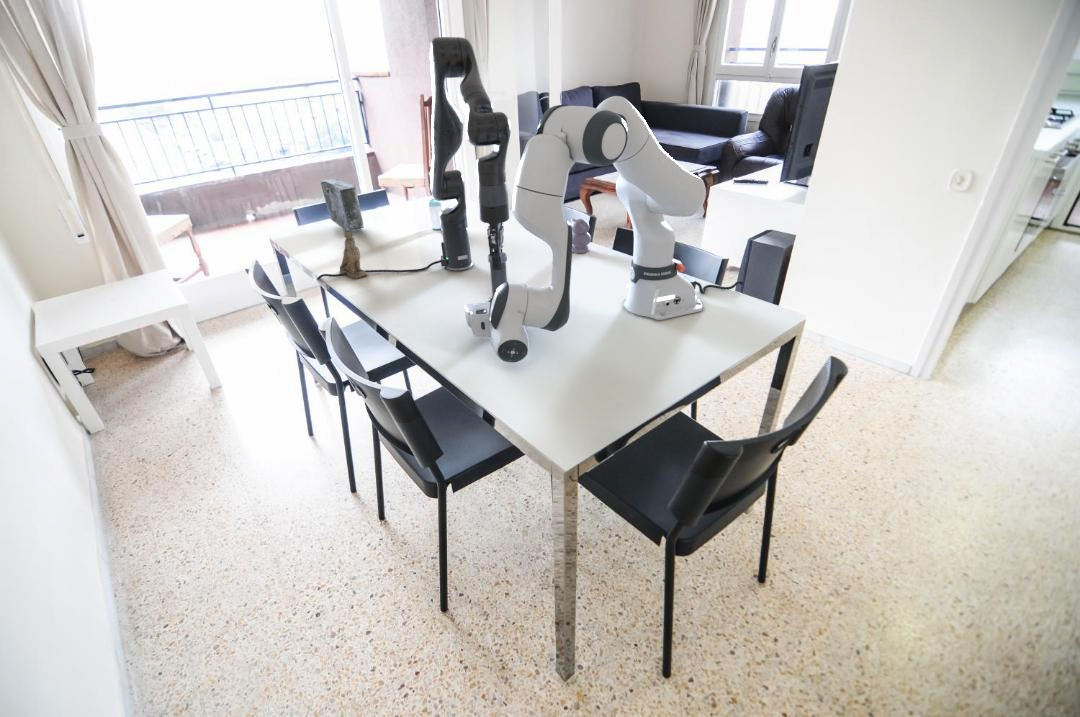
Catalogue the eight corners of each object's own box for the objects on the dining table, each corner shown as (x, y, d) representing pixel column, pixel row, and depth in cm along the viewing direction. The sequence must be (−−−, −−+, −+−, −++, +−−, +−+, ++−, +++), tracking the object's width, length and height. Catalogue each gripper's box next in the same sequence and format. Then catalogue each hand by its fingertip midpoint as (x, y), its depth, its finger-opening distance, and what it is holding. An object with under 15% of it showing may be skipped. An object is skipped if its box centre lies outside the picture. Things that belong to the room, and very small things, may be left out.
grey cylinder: (491, 323, 141) (486, 258, 131) (500, 317, 145) (495, 253, 134) (503, 327, 139) (499, 261, 129) (512, 321, 143) (508, 256, 132)
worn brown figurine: (368, 281, 178) (362, 235, 166) (353, 285, 175) (347, 238, 163) (352, 266, 184) (346, 221, 172) (338, 270, 181) (331, 224, 169)
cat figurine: (595, 249, 191) (595, 218, 185) (582, 255, 186) (582, 223, 180) (577, 245, 196) (578, 214, 190) (564, 250, 191) (564, 219, 185)
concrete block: (369, 233, 219) (358, 186, 208) (349, 237, 215) (337, 190, 204) (349, 220, 237) (339, 177, 227) (331, 224, 233) (319, 180, 223)
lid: (495, 265, 129) (495, 259, 129) (484, 261, 133) (484, 254, 132) (510, 260, 132) (510, 254, 131) (499, 256, 135) (498, 250, 135)
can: (445, 229, 220) (441, 202, 214) (429, 230, 220) (425, 202, 214) (447, 224, 226) (444, 198, 220) (432, 225, 226) (428, 198, 220)
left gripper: (481, 194, 130) (487, 256, 139) (474, 209, 118) (481, 276, 127) (510, 194, 130) (513, 256, 139) (506, 208, 118) (510, 275, 127)
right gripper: (544, 306, 127) (536, 285, 139) (464, 314, 125) (462, 292, 136) (545, 327, 131) (536, 305, 142) (467, 336, 128) (465, 313, 140)
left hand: (498, 265), depth 133 cm, fingers closed on lid, 4 cm apart
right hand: (500, 299), depth 139 cm, fingers closed on grey cylinder, 4 cm apart
